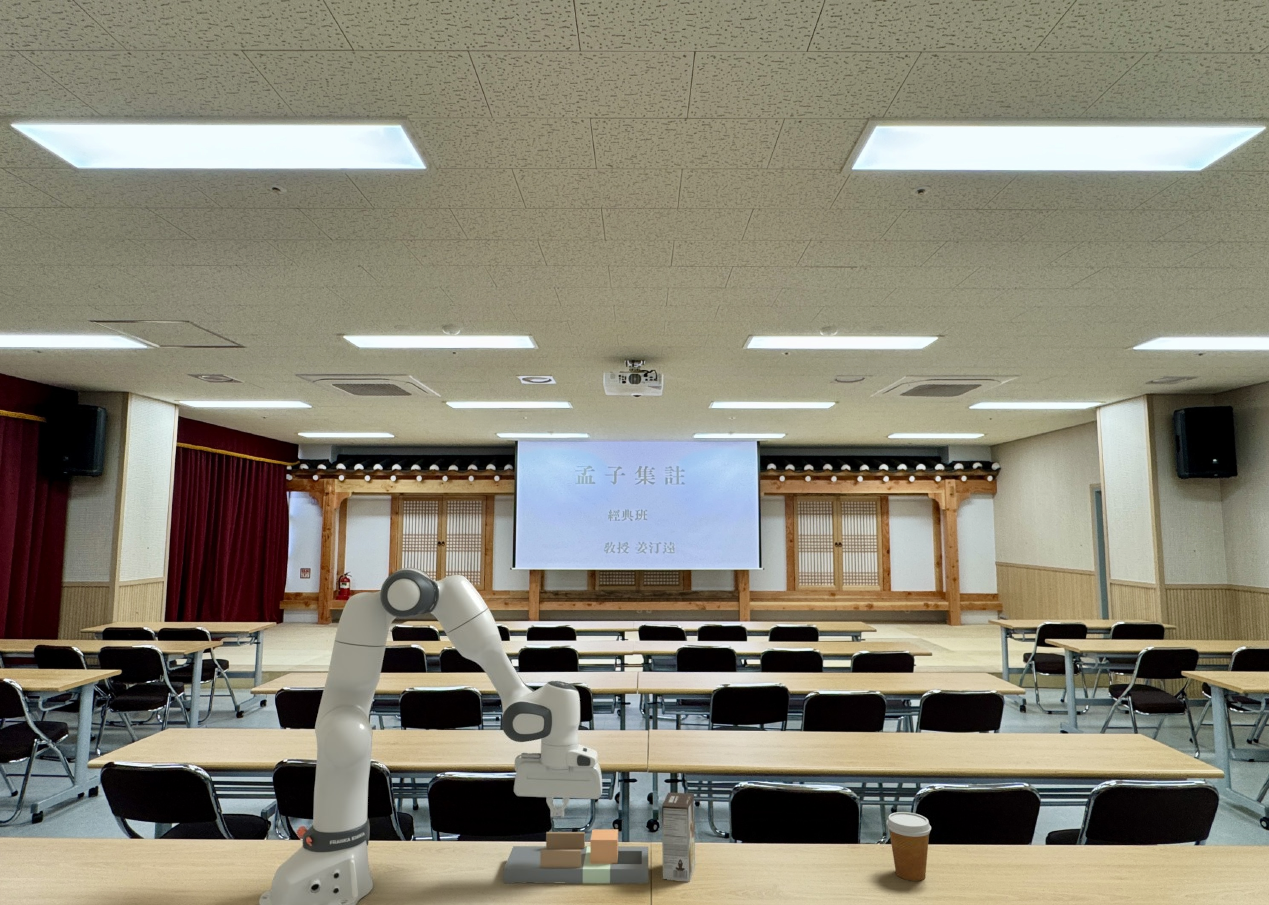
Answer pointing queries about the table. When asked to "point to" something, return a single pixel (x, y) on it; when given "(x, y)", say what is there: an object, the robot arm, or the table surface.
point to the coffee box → (678, 836)
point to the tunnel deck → (574, 862)
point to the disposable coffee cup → (909, 844)
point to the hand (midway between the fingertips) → (557, 816)
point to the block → (604, 846)
